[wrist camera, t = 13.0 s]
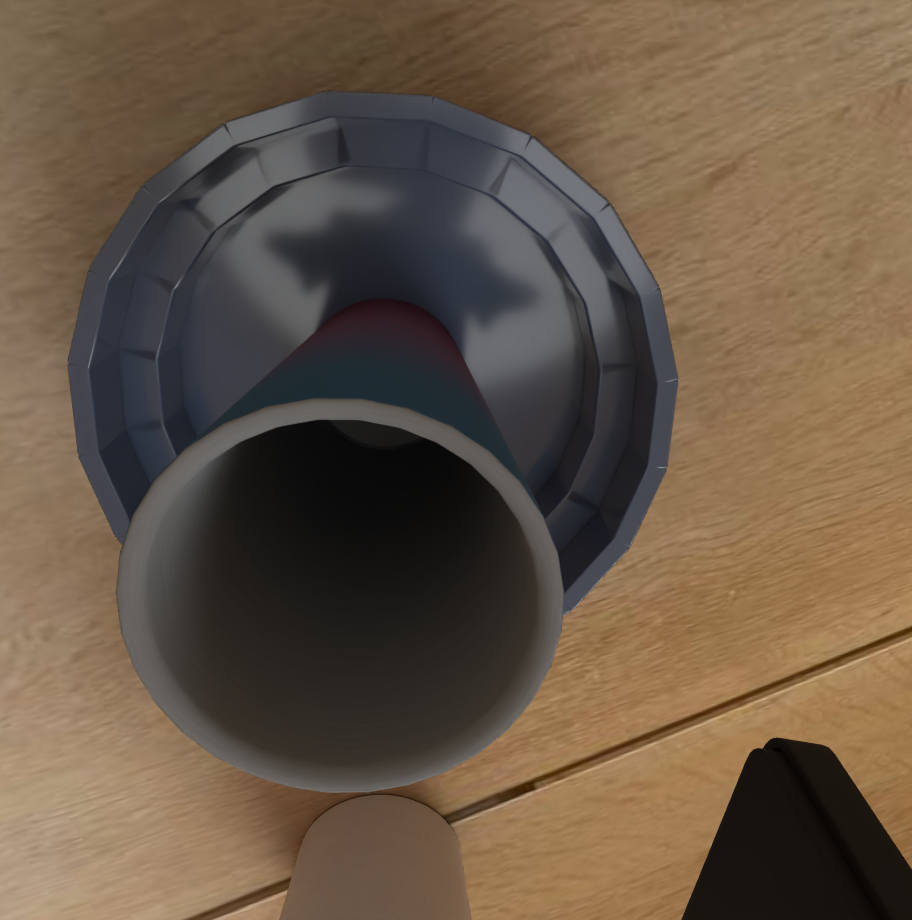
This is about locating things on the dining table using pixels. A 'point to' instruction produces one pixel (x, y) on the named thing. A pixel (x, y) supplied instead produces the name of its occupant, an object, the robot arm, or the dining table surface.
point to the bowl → (383, 277)
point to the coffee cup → (378, 865)
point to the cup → (345, 566)
